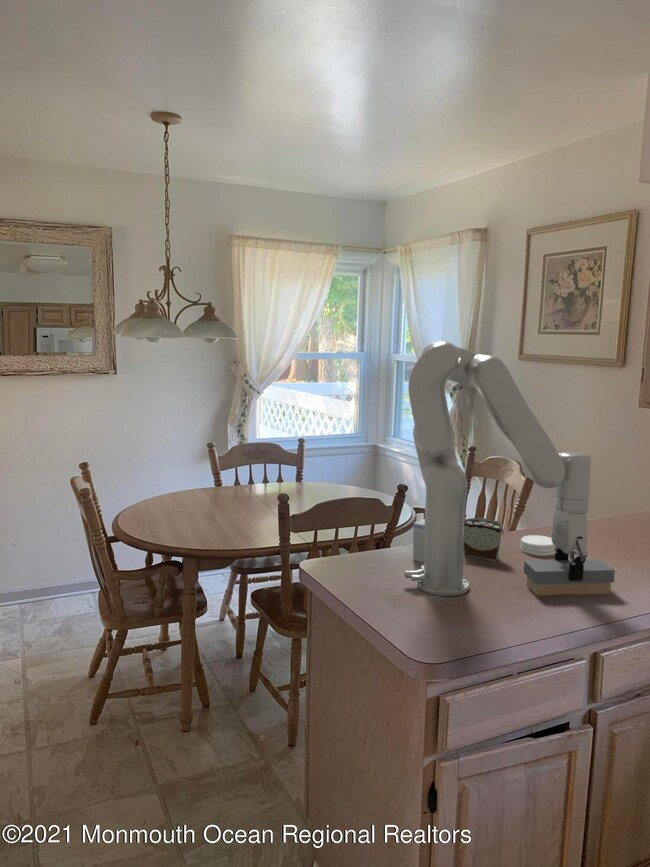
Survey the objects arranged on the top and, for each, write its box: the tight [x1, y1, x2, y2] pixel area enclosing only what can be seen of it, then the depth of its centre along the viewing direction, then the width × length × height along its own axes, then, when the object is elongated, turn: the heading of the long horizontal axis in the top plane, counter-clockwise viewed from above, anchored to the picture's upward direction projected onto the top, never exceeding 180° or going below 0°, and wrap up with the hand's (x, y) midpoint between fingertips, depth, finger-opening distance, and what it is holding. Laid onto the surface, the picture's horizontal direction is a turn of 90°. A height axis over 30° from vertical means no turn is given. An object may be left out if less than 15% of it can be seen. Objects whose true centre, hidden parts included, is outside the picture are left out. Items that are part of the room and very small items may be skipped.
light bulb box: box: [412, 518, 425, 563], centre depth 177 cm, size 11×7×11 cm, turn 141°
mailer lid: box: [523, 559, 616, 584], centre depth 154 cm, size 19×8×3 cm, turn 93°
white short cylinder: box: [520, 534, 557, 557], centre depth 183 cm, size 10×10×4 cm
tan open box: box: [526, 575, 612, 596], centre depth 154 cm, size 18×6×6 cm, turn 93°
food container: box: [464, 517, 505, 562], centre depth 179 cm, size 12×6×10 cm, turn 58°
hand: (568, 573), depth 154 cm, fingers closed on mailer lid, 7 cm apart
